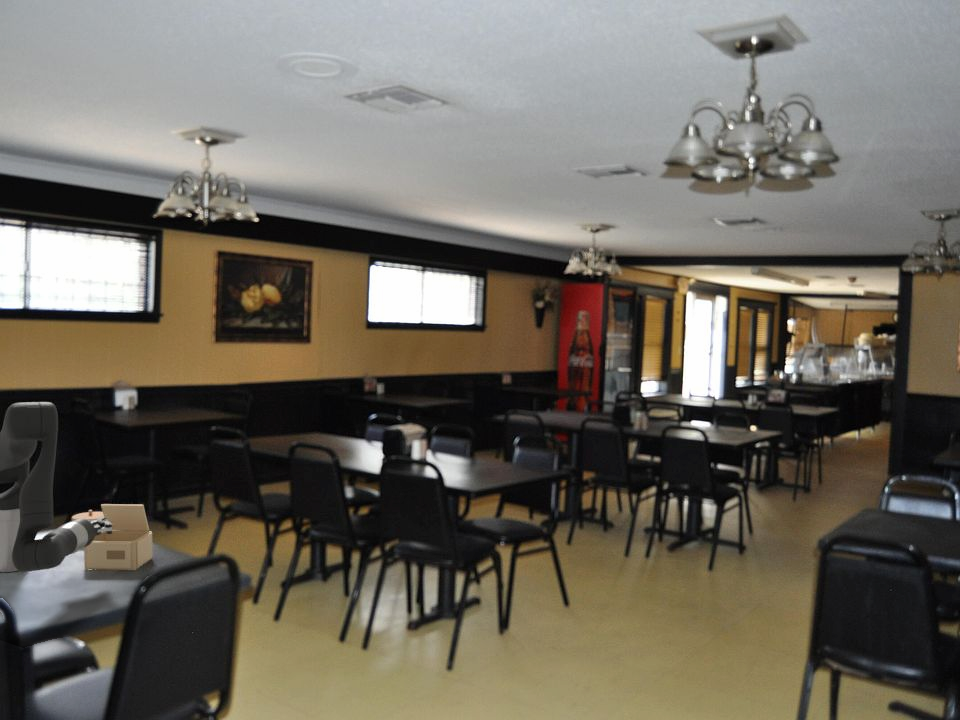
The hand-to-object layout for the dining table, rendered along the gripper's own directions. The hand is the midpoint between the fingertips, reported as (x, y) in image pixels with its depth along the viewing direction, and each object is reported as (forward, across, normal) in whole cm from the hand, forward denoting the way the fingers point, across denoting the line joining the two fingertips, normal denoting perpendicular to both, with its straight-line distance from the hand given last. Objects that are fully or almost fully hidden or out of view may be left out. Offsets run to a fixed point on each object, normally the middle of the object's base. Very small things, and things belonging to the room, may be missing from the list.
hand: (103, 520), depth 234 cm
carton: (+9, 0, +14) cm, 17 cm away
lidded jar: (+35, +20, +14) cm, 43 cm away
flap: (+16, 0, +6) cm, 17 cm away
